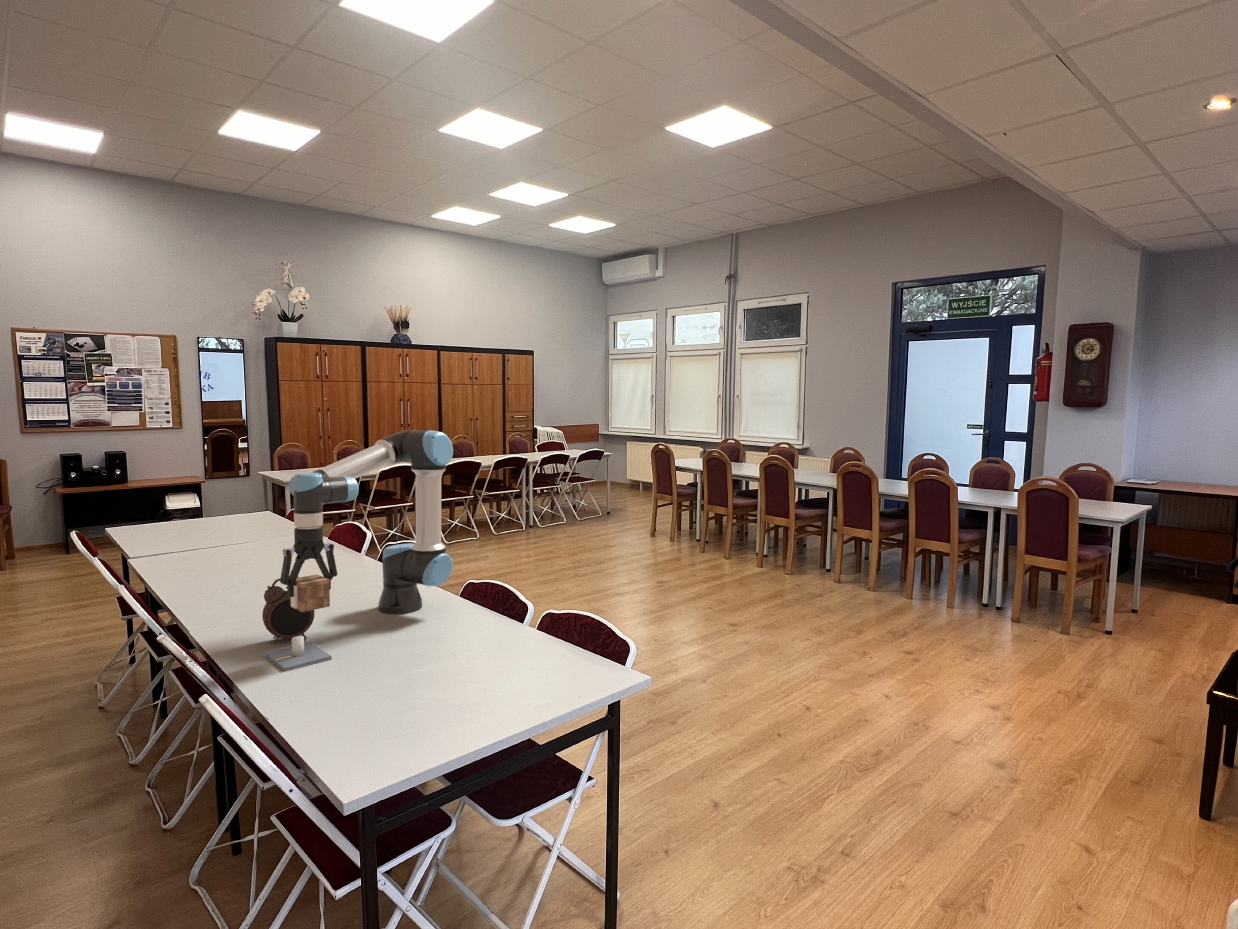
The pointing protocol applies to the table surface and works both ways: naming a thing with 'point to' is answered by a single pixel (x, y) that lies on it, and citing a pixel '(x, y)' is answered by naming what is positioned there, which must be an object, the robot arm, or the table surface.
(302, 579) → the tan drawer box
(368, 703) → the table surface
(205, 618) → the table surface
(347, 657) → the table surface
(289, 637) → the alarm clock
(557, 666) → the table surface
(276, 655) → the plate
